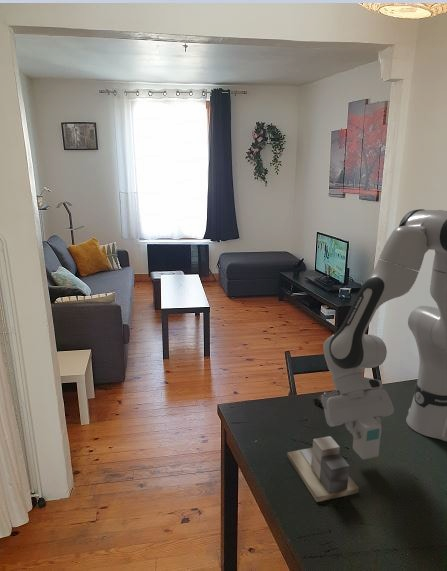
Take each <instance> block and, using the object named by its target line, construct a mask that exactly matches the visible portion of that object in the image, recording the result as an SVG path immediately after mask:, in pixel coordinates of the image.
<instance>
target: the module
mask: <svg viewBox="0 0 447 571" xmlns="http://www.w3.org/2000/svg"><path fill="white" fill-rule="evenodd" d="M353 425H354V426H353V428H354V429H355V430H356V431H357V432H360V435H361V439H357V440H354V438H352V450H353V451H354V452H355V453H356V454H357V456H359V458H361V459H362V460H363V461H364V460H367V459H372V458H378V457H379V456H380V455H379V454H380V444H381V435H382V434H381V432H382V423H381V424H380V423H379V422H378V421H377V420H376V419H375V418H373V417H369V418H363V419H358V420H357V421H355V423H354V424H353Z"/></svg>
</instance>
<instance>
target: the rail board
mask: <svg viewBox="0 0 447 571" xmlns="http://www.w3.org/2000/svg"><path fill="white" fill-rule="evenodd" d="M312 440H313V441H312V447H309V448H308V447H307V448H302V449H298V450H293V451H287V453H286V457H287V459H288V460H289V463H291V465H292V467H293V468H294V470H295V472H296V473H297V474H298V476H299V478H300V479H301V480H302V482H303V483H304V484H305V486H306V488H307V489H308V491H309V492H310V494H311V496H312V497H313V499H314V500H315V502H316V503H318V502H324V501H329V500H333V499H337V498H343V497H346V496H352V495H355V494H358V493H359V490H360V488H359V487H358V485H357V484H356V482H354V480H353V479H352V478H351V477H350V469H351V468H350V467H351V466H350V464H349V463H348V462H347V461H346V459H345V458H344V457H343V456H342V455H341V454H340V450H341V449H340V448H341V446H340V445H339V444H338V443H337V442H336V440H334V438H333V437H332V436H329V435H327V436H324V437H323V436H322V437H318V438H313V439H312Z"/></svg>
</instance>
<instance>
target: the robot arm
mask: <svg viewBox="0 0 447 571" xmlns="http://www.w3.org/2000/svg"><path fill="white" fill-rule="evenodd" d="M429 250H434V252H435V253H434V256H433V261H432V262H433V264H432V269H431V278H430V287H429V293H430V296H431V298H432V299H433V300H434V302H435V303H436V305H437V307H435V306H434V307H433V306H428V305H420V306H419V305H418V306H416V307H415V308H414V309H413V310H412V311H411V312H410V313H409V316H408V318H407V319H408V320H407V325H408V328H409V330H410V331H411V333H412V335H413V337H414V339H415V342H416V347H417V350H418V357H419V358H418V359H419V366H418V373H417V374H418V375H417V380H416V382H415V384H414V385H415V386H414V392H413V398H412V402H411V405H410V407H409V408H408V411H407V412H408V413H407V416H406V417H405V418H406V419H405V421H406V424H407V425H408V426H409V427H410V429H412V430H413V431H415V432H416V433H418V434H420V435H423V436H425V437H429V438H433V439H437V440H441V441H444V442H447V210H443V209H438V210H437V209H436V210H435V209H433V210H432V209H424V208H423V209H421V208H420V209H414V210H409V212H407V213H406V214H405V215H404V216H403V217H402V219H401V221H400V223H399V225H398V227H396V228H395V229H393V231H392V232H391V233H390V235H389V237H388V239H387V240H386V242H385V244H384V246H383V248H382V251H381V252H380V255H379V258H378V259H377V262H376V265H375V267H374V269H373V270H372V272H371V275H370V276H369V277H368V279H367V280H366V281H365V282H364V283H363V284H362V286H361V287H360V289H359V291H358V293H357V294H356V296H355V299H354V300H353V303H352V304H351V307H350V308H349V310H348V313H347V315H346V317H345V319H344V320H343V322H342V325H341V326H340V327H339V328H338V330H337V331H336V332H335V333H334V334H332V335H329V337H327V338H326V339H325V341H324V342H323V344H322V345H323V346H322V348H323V355H324V359H325V361H326V365H327V368H328V370H329V372H330V374H331V376H332V384H333V386H334V388H335V390H333V391H329V392H327V391H326V393H325V392H323V393H324V395H322V397H321V403H322V406H323V407H324V408H323V407H322V408H323V412H324V417H325V421H326V424H327V425H328V426H329V427H337V426H341V425H342V426H344V425H345V429H346V430H347V431H348V432H349V433H350V434H351V435H352V437H353V438H354V440H357V439H361V435H360V432H357V431H356V430H355V429H354V425H355V424H354V423H353V422H355V421H357V420H358V419H363V418H369V417H373V418H375V419H376V420H377V421H378V422H379V423H380V424H381V425H382V420H381V418H383V417H388V416H391V415H393V414H394V411H395V408H394V405H393V403H392V400H391V398H390V396H389V393H388V392H387V391H386V389H384V388H383V387H384V384H383V382H382V380H380V379H375V378H371V377H370V378H369V377H364V375H363V373H362V372H363V371H364V370H365V369H373V368H376V367H379V366H381V365H382V364H383V363H384V361H385V360H386V358H387V353H388V351H387V346H386V343H385V342H384V340H383V339H382V338H380V337H379V336H377V335H374V334H369V333H368V334H367V333H366V332H367V330H368V327H369V326H370V324H371V322H372V320H373V317H374V316H375V314H376V312H377V310H378V309H379V308H380V307H381V306H382V305H383V304H385V303H386V302H388V301H390V300H394V299H396V298H399V297H402V296H405V295H406V294H408V293H409V292H410V291H411V289H412V287H413V286H414V285H415V283H416V281H417V278H418V275H419V272H420V270H421V268H422V265H423V261H424V257H425V255H426V253H427V252H428V251H429ZM323 396H325V397H323ZM382 434H383V433H382V431H381V435H382ZM353 438H352V439H353Z"/></svg>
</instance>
